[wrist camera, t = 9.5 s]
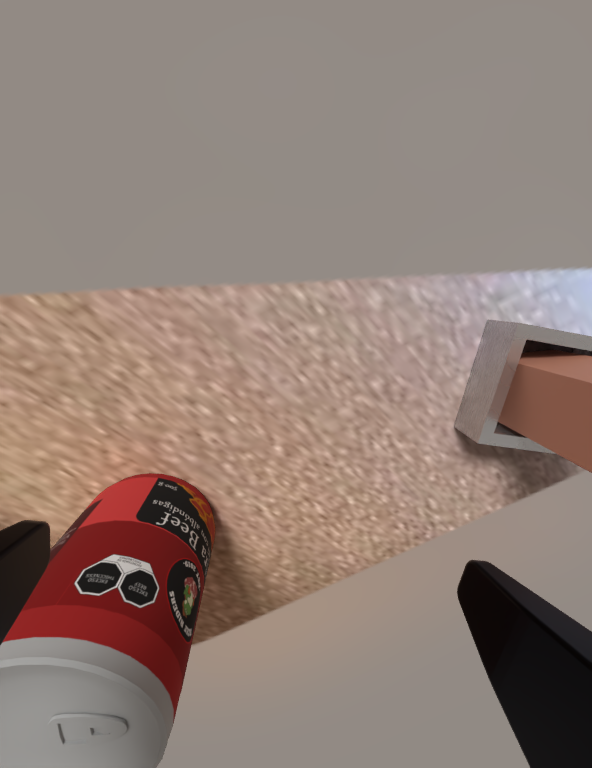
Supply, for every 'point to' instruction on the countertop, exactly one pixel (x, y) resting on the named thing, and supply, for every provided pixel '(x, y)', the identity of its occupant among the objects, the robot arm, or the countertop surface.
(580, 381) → the salmon brown rectangular block
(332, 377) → the countertop surface
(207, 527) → the canned food
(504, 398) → the gray square planter
